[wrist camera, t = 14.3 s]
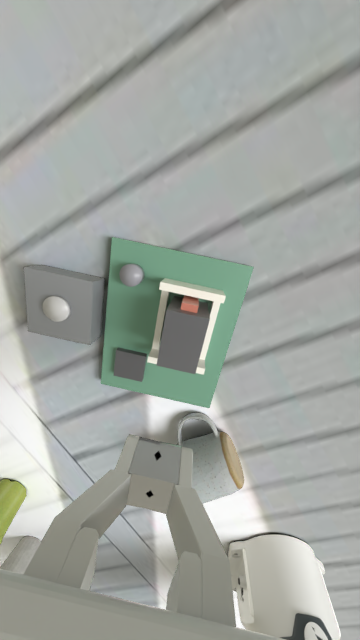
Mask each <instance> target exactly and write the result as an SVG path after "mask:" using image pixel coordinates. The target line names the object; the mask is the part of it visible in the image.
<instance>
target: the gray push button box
mask: <svg viewBox="0 0 360 640" xmlns="http://www.w3.org/2000/svg"><path fill="white" fill-rule="evenodd" d="M24 280H25V295H26V310H27V325H28V331H29V332H33V333H38V334H42V335H46V336H51V337H55V338H60V339H64V340H69V341H73V342H78V343H82V344H87V345H91V344H92V343H93V342H94V341H95V340H96V339H97V338H99V337H100V336H101V327H102V312H103V298H104V284H105V278H101V277H96V276H92V275H87V274H83V273H78V272H73V271H69V270H64V269H59V268H55V267H50V266H46V265H38V266H27V267H24Z"/></svg>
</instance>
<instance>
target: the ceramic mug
mask: <svg viewBox="0 0 360 640" xmlns="http://www.w3.org/2000/svg"><path fill="white" fill-rule="evenodd" d="M189 419H197V420H199V419H201V420H203V421H205V422H206V423H207V424H208V425H210V427H211V429H212V430H213V433H211V434H208V435H204V436H201V437H196V438H193V439H189V440H185V441H183V439H182V433H181V432H182V426H183V424H184V422H185V421H187V420H189ZM177 445H178V446H181V447H186V448H190V449H192V450H193V464H192V488H193V489H195V490H196V492H197V494H198V496H199V498H200V500H201V502H202V504H203V503H206V502H209V501H212V500H215V499H218V498H220V497H224V496H227V495H230V494H232V493H234V492H236V491H238V490H240V489H241V488H242V487H243V484H244V476H243V471H242V467H241V463H240V460H239V457H238V454H237V452H236V449H235V447H234V444H233V442H232V440H231V438H230V437H229V436H228V435H227V434H226V433H225V432H218V431H217V428H216V426H215V424H214V423H213V421H212V420H211V419H210V418H209V417H208V416H207V415H205V414H202V413H191V414H188V415H186V416H185V417H184V418H183V419H182V420H181V422H180V425H179V427H178V444H177Z"/></svg>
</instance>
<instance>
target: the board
mask: <svg viewBox="0 0 360 640" xmlns="http://www.w3.org/2000/svg"><path fill="white" fill-rule="evenodd" d="M253 268H254V267H252V266H247V265H243V264H238V263H233V262H228V261H224V260H219V259H214V258H210V257H205V256H200V255H195V254H191V253H186V252H181V251H177V250H172V249H167V248H163V247H158V246H153V245H148V244H144V243H139V242H134V241H130V240H125V239H120V238H115V237H112V243H111V256H110V269H109V282H108V296H107V309H106V322H105V335H104V348H103V361H102V374H101V384H105V385H109V386H113V387H118V388H122V389H127V390H131V391H136V392H140V393H144V394H149V395H153V396H158V397H162V398H166V399H171V400H175V401H180V402H184V403H189V404H193V405H197V406H202V407H206V408H209V407H210V404H211V401H212V398H213V394H214V391H215V388H216V385H217V382H218V379H219V375H220V372H221V369H222V366H223V363H224V360H225V356H226V353H227V350H228V347H229V344H230V341H231V337H232V334H233V331H234V328H235V325H236V322H237V318H238V315H239V312H240V309H241V306H242V303H243V299H244V296H245V293H246V290H247V287H248V284H249V280H250V277H251V274H252V271H253ZM184 295H187V296H191V297H196V298H199V301H201V302H206V303H207V304H208V311H209V317H210V321H209V324H208V328H207V332H206V336H205V339H204V343H203V347H202V351H201V354H200V358H199V362H198V366H197V370H196V373H195V374H192V373H187V372H183V371H178V370H174V369H169V368H165V367H160V366H156V365H157V359H158V354H159V349H160V343H161V338H162V332H163V327H164V321H165V316H166V310H167V308H168V306H169V304H170V303H171V301H172V299H173V297H174V296H178V297H183V298H184Z"/></svg>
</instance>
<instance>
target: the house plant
mask: <svg viewBox="0 0 360 640" xmlns="http://www.w3.org/2000/svg"><path fill="white" fill-rule="evenodd" d="M40 543H41V541H40V540H39V539H37V538H35V537H32V536H25V537H23V538H22V539H21V540H20V542H19V543H18V544H17V546H16V547H15V548H14V550H13V551H12V552H11V554H10V555H9V556H8V558H7V559H6V560H5V562H4V563H3V564H2V566H1V567H0V569H3V570H7V571H11V572H15V573H19V574H24V572H25V570H26V569H27V567H28V565H29V563H30V561H31V560H32V558H33V556H34V554H35V552H36V550H37V549H38V547H39V545H40Z"/></svg>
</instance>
